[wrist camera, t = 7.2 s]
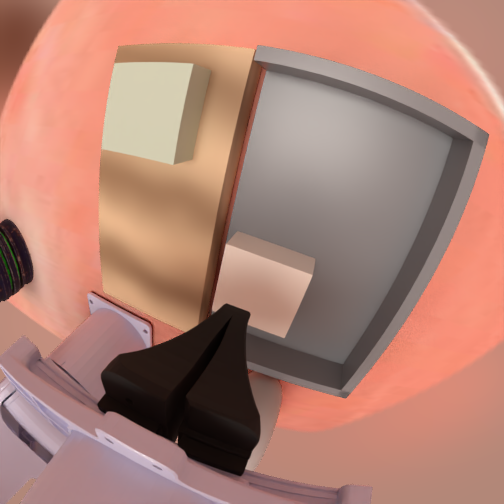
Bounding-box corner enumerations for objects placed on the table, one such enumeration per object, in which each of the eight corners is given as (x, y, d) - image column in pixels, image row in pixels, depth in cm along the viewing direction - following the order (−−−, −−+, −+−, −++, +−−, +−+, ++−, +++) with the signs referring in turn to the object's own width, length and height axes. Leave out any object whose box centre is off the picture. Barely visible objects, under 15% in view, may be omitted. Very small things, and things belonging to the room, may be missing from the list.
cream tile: (289, 319, 19) (284, 338, 17) (222, 293, 20) (211, 310, 18) (315, 258, 16) (312, 275, 15) (237, 230, 17) (226, 243, 15)
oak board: (206, 321, 22) (196, 336, 20) (117, 280, 23) (103, 291, 21) (264, 58, 13) (255, 49, 11) (137, 50, 14) (118, 46, 12)
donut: (265, 411, 25) (236, 494, 17) (234, 401, 26) (198, 481, 17) (298, 354, 21) (268, 469, 12) (256, 340, 21) (210, 450, 12)
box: (347, 369, 20) (345, 398, 17) (211, 322, 22) (195, 347, 19) (464, 131, 11) (489, 134, 8) (271, 59, 13) (257, 45, 10)
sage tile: (192, 159, 14) (173, 164, 13) (123, 144, 15) (101, 149, 13) (211, 70, 12) (193, 63, 10) (136, 66, 13) (114, 63, 11)
